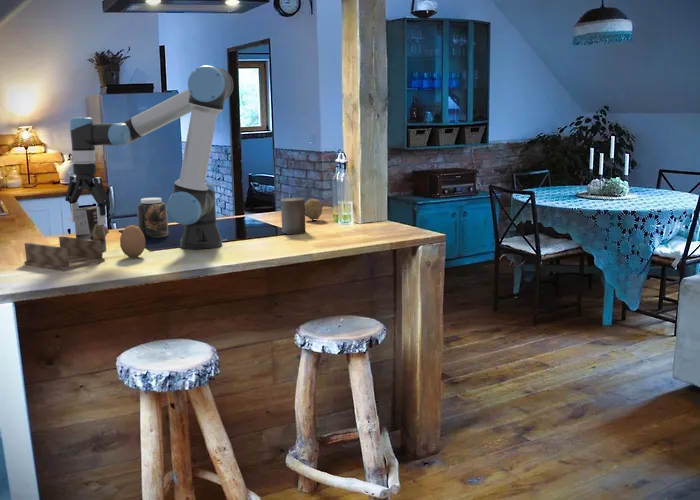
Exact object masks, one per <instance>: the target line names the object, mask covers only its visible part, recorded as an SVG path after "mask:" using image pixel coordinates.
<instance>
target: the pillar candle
mask: <svg viewBox="0 0 700 500" xmlns="http://www.w3.org/2000/svg"><path fill="white" fill-rule="evenodd" d="M305 203H306V201H305V198H303V197H294V196H292V197H287V198H282V199H280V213H281V215H280V216H281V233H282V232H283V233H282V234H284V233H286V234H285V235H300V233H301V234H305V233H306V216H305ZM304 232H305V233H304Z"/></svg>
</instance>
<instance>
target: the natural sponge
mask: <svg viewBox="0 0 700 500" xmlns="http://www.w3.org/2000/svg"><path fill="white" fill-rule="evenodd" d="M322 214H323V203H322V202H321V201H320V200H319V199H316V198H310V199H308V200H306V201H305V217H307V218H308V219H310V220H311V219H317V220H319V218H320V217H321V215H322Z"/></svg>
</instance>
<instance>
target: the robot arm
mask: <svg viewBox="0 0 700 500" xmlns="http://www.w3.org/2000/svg"><path fill="white" fill-rule="evenodd" d="M233 81H234V80H233V78H232V76H231V75H230V73H229V72H228V71H227V70H226V69H224V68H221V67H217V66H213V65H208V64H206V65H201V66H198V67H196V68H195V69H194V70H192V72H191V73H190V75H189V76H188V80H187V89H184V90H183V91H181V92H180V93H179V92H178V93H177V94H175V95H173V96H171V97H169V98H167V99H165V100H163V101H162V102H160V103H158V104H156V105H154V106H151V107H150V108H148V109H146V110H144V111H142V112H140V113H138V114H136V115H134V116H132V117H130V118H128V119H126V120H124V121H122V122H118V123H117V122H112V123H111V122H109V123H95V122H94V119H93V117H72V118H71V119H70V120H69V121H70V122H69V123H70V124H69V125H70V126H69V127H70V128H69V129H70V131H69V132H70V140H71V141H70V143H71V155H72V156H71V157H72V162H73V164H72V166H73V167H72V171H73V175H70V176H69V184H68V187H67V192H66V195H65V200H64V201H65V202H68V203H69V205H70V206H69V208H70V213H71V222H72V223H75V218H74V210H75V209H80V205H79V201H78V200H79V198H80V196H81V194H82V192H83V191H84V190H86V191H88V192H90V194H91V196H92V198H93V199H94V201H95V202H96V204H97V206H96V207H97V219H98V225H104V226H105V225H107V224H106V206H107V205H110V204H111V202H110V200H109V196H108V194H107V192H106V190H105V186H104V184H103V178H102V177H100V176H99V177H97V176H96V177H95V174H97V164H96V159H97V158H96V146H107V147H108V146H110V147H111V146H114V147H121V146H127V145H130V144H133V143H136V142H137V141H138V140H139V139H140V138H142V137H144V136H145V135H148V134H150V133H153V132H154V131H156V130H158V129H160V128H162V127H164V126H165V125H168V124H170V123H171V122H174V121H176V120H178V119H180V118H181V117H184V116H186V115H188V114H190V119H189V124H188V130H187V135H186V141H185V146H184V152H183V158H182V164H181V170H180V174H179V175H180V176H179V178H178V179H176V180H175V181H174V184H173V189H172V194H171V195H170V196H169V198H168V199H167V201H166V208H167V215H168V216H169V218H171V220H172V221H173V222H174V223H176V224H178V225H181V226H182V225H183V230H182V233H181V238H180V242H179V243H180V248H182V249H186V250H187V249H188V250H203V249H213V248H218V247H221V246H222V245H223V238H222V237H221V234H220V229H219V228H218V225H217V213H216V212H217V211H216V191H215V185H214V184H212V183H206V180H207V174H208V167H209V163H210V157H211V151H212V147H213V146H212V145H213V140H214V134H215V130H216V125H217V124H216V123H217V117H218V115H219V114H220V113H221V112H223V110H224V106H225V105H224V104H225V101H226V100H227V99H228V98H229V97H230V96H231V95H232V93H233V90H234V82H233Z"/></svg>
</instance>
